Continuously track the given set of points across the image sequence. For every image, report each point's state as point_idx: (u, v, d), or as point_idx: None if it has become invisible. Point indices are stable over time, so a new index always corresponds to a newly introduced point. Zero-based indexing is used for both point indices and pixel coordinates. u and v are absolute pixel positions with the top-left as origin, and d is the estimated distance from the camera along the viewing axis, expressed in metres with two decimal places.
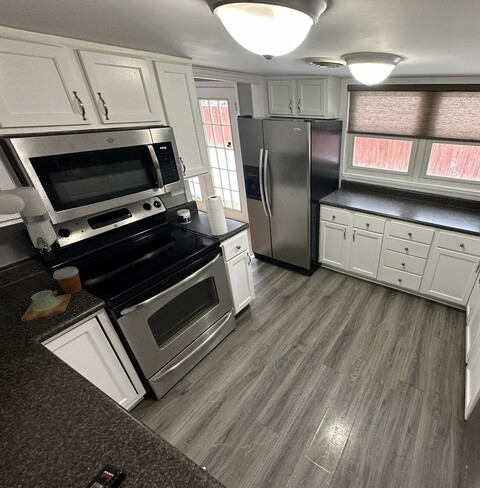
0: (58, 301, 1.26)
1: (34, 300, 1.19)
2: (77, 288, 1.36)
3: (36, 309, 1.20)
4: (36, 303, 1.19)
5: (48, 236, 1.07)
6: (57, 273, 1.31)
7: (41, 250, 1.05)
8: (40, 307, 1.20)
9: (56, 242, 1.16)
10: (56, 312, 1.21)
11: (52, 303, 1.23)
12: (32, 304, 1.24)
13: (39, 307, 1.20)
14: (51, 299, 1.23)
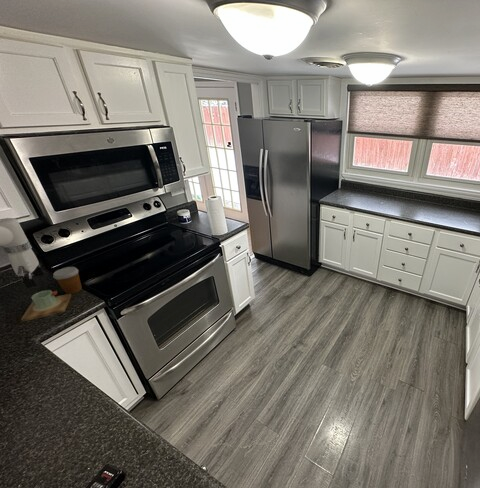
0: (58, 301, 1.26)
1: (34, 300, 1.19)
2: (77, 288, 1.36)
3: (36, 309, 1.20)
4: (36, 303, 1.19)
5: (29, 264, 1.12)
6: (57, 273, 1.31)
7: (22, 278, 1.10)
8: (40, 307, 1.20)
9: (38, 267, 1.21)
10: (56, 312, 1.21)
11: (52, 303, 1.23)
12: (32, 304, 1.24)
13: (39, 307, 1.20)
14: (51, 299, 1.23)
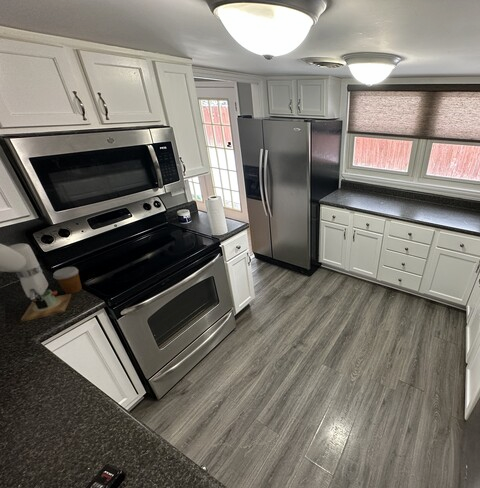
0: (58, 301, 1.26)
1: None
2: (77, 288, 1.36)
3: (36, 309, 1.20)
4: None
5: (39, 287, 1.17)
6: (57, 273, 1.31)
7: (35, 300, 1.16)
8: None
9: None
10: (56, 312, 1.21)
11: (52, 303, 1.23)
12: (32, 304, 1.24)
13: None
14: (51, 299, 1.23)
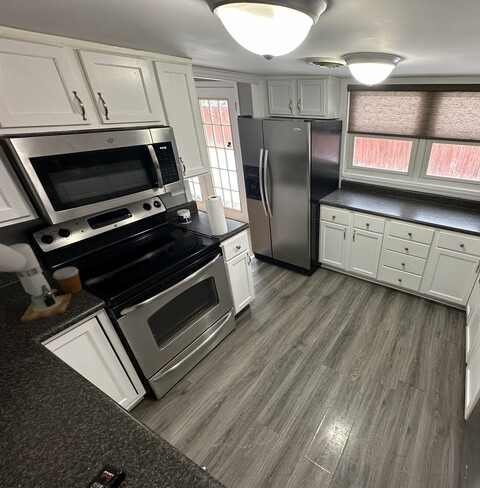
0: (57, 299, 1.27)
1: (40, 299, 1.19)
2: (77, 288, 1.36)
3: (42, 309, 1.21)
4: (42, 302, 1.20)
5: None
6: (57, 273, 1.31)
7: (49, 296, 1.19)
8: None
9: None
10: (56, 312, 1.21)
11: (55, 300, 1.25)
12: (32, 304, 1.24)
13: (45, 306, 1.21)
14: (54, 296, 1.25)
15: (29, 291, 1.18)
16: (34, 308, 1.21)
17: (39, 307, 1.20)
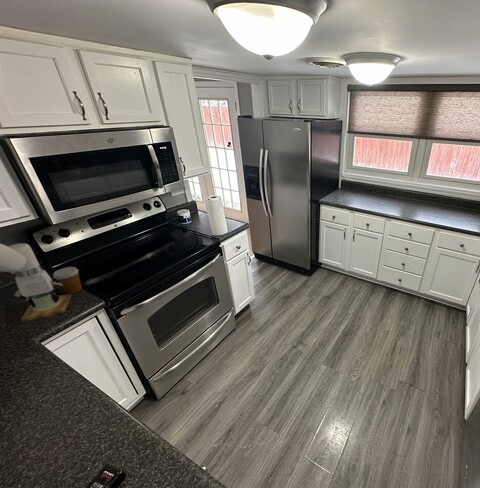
0: None
1: (49, 296, 1.21)
2: (77, 288, 1.36)
3: (52, 306, 1.23)
4: (50, 299, 1.22)
5: None
6: (57, 273, 1.31)
7: (59, 289, 1.24)
8: (54, 302, 1.24)
9: None
10: (56, 312, 1.21)
11: None
12: None
13: (53, 302, 1.24)
14: None
15: (34, 292, 1.17)
16: (39, 309, 1.20)
17: (47, 305, 1.22)
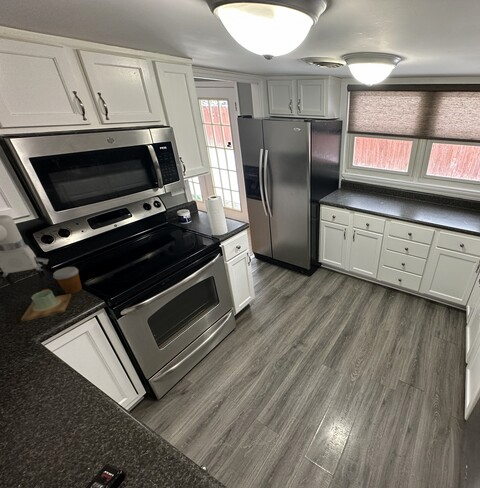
0: None
1: (49, 296, 1.21)
2: (77, 288, 1.36)
3: (52, 306, 1.23)
4: (51, 299, 1.22)
5: None
6: (57, 273, 1.31)
7: (46, 265, 1.17)
8: (54, 302, 1.24)
9: (10, 273, 1.13)
10: (56, 312, 1.21)
11: None
12: (32, 304, 1.24)
13: (53, 302, 1.24)
14: None
15: (16, 268, 1.10)
16: (39, 309, 1.20)
17: (47, 305, 1.22)
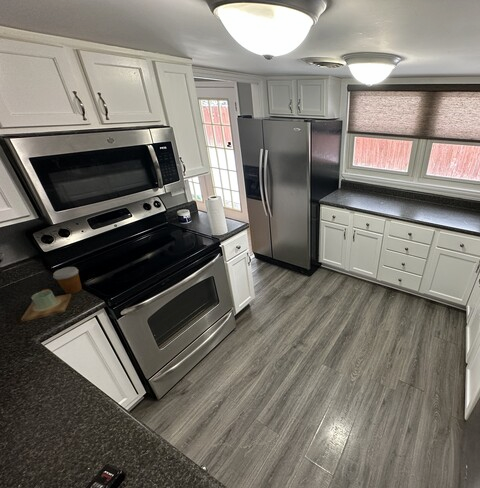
0: None
1: (49, 296, 1.21)
2: (77, 288, 1.36)
3: (52, 306, 1.23)
4: (51, 299, 1.22)
5: None
6: (57, 273, 1.31)
7: (1, 260, 1.01)
8: (54, 302, 1.24)
9: None
10: (56, 312, 1.21)
11: None
12: (32, 304, 1.24)
13: (53, 302, 1.24)
14: None
15: None
16: (39, 309, 1.20)
17: (47, 305, 1.22)
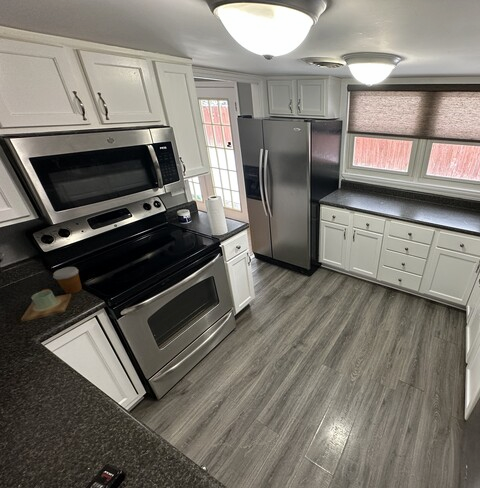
0: None
1: (49, 296, 1.21)
2: (77, 288, 1.36)
3: (52, 306, 1.23)
4: (51, 299, 1.22)
5: None
6: (57, 273, 1.31)
7: (1, 260, 1.01)
8: (54, 302, 1.24)
9: None
10: (56, 312, 1.21)
11: None
12: (32, 304, 1.24)
13: (53, 302, 1.24)
14: None
15: None
16: (39, 309, 1.20)
17: (47, 305, 1.22)
